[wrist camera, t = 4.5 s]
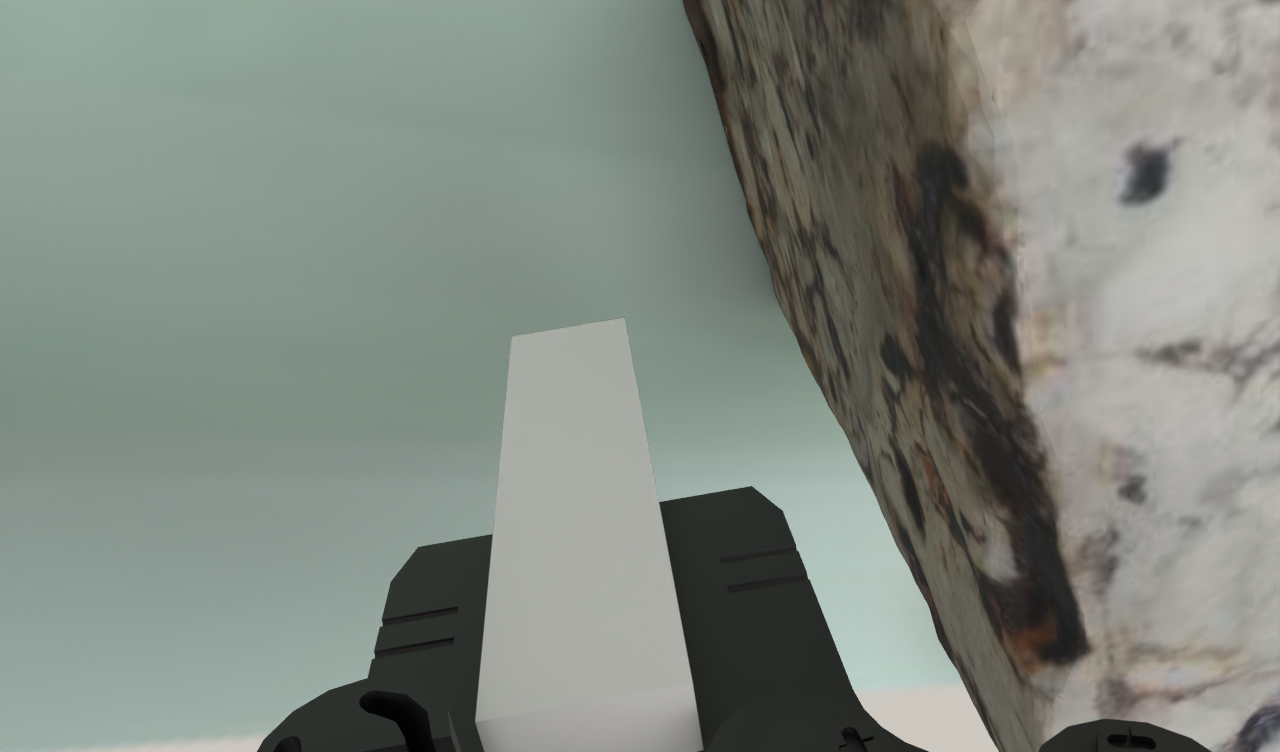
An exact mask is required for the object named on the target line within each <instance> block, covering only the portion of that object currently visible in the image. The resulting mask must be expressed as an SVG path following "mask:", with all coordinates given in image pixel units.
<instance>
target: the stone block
mask: <svg viewBox="0 0 1280 752" xmlns="http://www.w3.org/2000/svg"><path fill="white" fill-rule="evenodd" d="M683 2H684V6H685V11H686V13H687V16H688V19H689V21H690V24H691V27H692V29H693V32H694V34H695V37H696V40H697V42H698V45H699V47H700V50H701V53H702V55H703V58H704V60H705V63H706V66H707V69H708V73H709V76H710V80H711V83H712V87H713V91H714V94H715V98H716V101H717V105H718V108H719V112H720V116H721V119H722V123H723V126H724V130H725V133H726V137H727V140H728V144H729V147H730V151H731V154H732V157H733V161H734V164H735V168H736V171H737V175H738V178H739V181H740V183H741V186H742V189H743V192H744V195H745V198H746V203H747V210H748V214H749V217H750V220H751V222H752V225H753V227H754V230H755V232H756V235H757V237H758V240H759V242H760V245H761V247H762V250H763V252H764V254H765V257H766V259H767V261H768V264H769V266H770V270H771V276H772V281H773V287H774V291H775V294H776V298H777V300H778V303H779V305H780V308H781V310H782V312H783V314H784V316H785V318H786V319H787V321H788V323H789V325H790V327H791V329H792V331H793V332H794V334H795V336H796V338H797V341H798V343H799V346H800V349H801V352H802V354H803V356H804V359H805V361H806V363H807V365H808V367H809V369H810V371H811V373H812V375H813V376H814V378H815V380H816V382H817V384H818V385H819V387H820V389H821V391H822V393H823V395H824V397H825V399H826V401H827V403H828V406H829V407H830V409H831V411H832V412H833V414H834V415H835V417H836V419H837V421H838V422H839V424H840V426H841V427H842V429H843V430H844V432H845V434H846V436H847V438H848V440H849V443H850V445H851V448H852V450H853V452H854V455H855V457H856V459H857V461H858V463H859V465H860V467H861V469H862V471H863V473H864V475H865V477H866V479H867V481H868V482H869V484H870V486H871V488H872V490H873V492H874V494H875V496H876V498H877V501H878V503H879V506H880V509H881V511H882V514H883V516H884V518H885V520H886V522H887V524H888V526H889V529H890V531H891V533H892V536H893V538H894V540H895V543H896V545H897V547H898V549H899V551H900V552H901V554H902V556H903V558H904V559H905V561H906V563H907V564H908V566H909V568H910V570H911V573H912V575H913V577H914V580H915V582H916V584H917V585H918V587H919V589H920V591H921V593H922V594H923V596H924V598H925V600H926V602H927V603H928V606H929V608H930V611H931V615H932V619H933V622H934V626H935V629H936V633H937V636H938V639H939V641H940V643H941V644H942V646H943V648H944V650H945V651H946V653H947V655H948V657H949V659H950V660H951V662H952V663H953V665H954V666H955V667H956V669H957V670H958V672H959V674H960V677H961V679H962V681H963V683H964V685H965V687H966V689H967V691H968V693H969V696H970V698H971V700H972V702H973V704H974V706H975V707H976V709H977V711H978V713H979V715H980V717H981V719H982V721H983V723H984V725H985V727H986V729H987V731H988V733H989V735H990V737H991V739H992V740H993V742H994V744H995V745H996V747H997V749H998V750H999V752H1038V751H1039V749H1040V747H1041V745H1042V744H1044V743H1045V742H1046V741H1048V740H1049V739H1051V738H1052V737H1054V736H1055V735H1056V734H1058V733H1059V732H1061V731H1062V730H1063V729H1065V728H1066V727H1068V726H1072V725H1077V724H1081V723H1086V722H1091V721H1095V720H1100V719H1115V720H1126V721H1137V722H1147V723H1150V724H1153V725H1156V726H1159V727H1162V728H1164V729H1167V730H1170V731H1173V732H1176V733H1178V734H1181V735H1184V736H1187V737H1190V738H1192V739H1194V740H1195V741H1197V742H1198V743H1200V744H1201V745H1203V746H1204V747H1206V748H1207V749H1209V750H1210V751H1212V752H1280V0H683Z"/></svg>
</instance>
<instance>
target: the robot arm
mask: <svg viewBox="0 0 1280 752" xmlns="http://www.w3.org/2000/svg"><path fill="white" fill-rule="evenodd" d="M382 622H383V627H380V629H379V633H378V637H377V642H376V646H375V650H374V652H375V659H372V662H371V666H370V671H369V675H368V679H364V680H360V681H357V682H354V683H351V684H348V685H344V686H341V687H338V688H335V689H332V690H329V691H327V692H325V693H324V694H322V695H320V696H318V697H317V698H315V699H313V700H312V701H310V702H308V703H307V704H305V705H303V706H302V707H300V708H298V709H296V710H295V711H293V712H292V713H291V714H290V715H289V716H288V717H287V718H286V719H285V720H284V721H283V722H282V723H281V724H280V725H279V726H278V727H277V728H276V729H274V730H273V731H272V732H271V733H270V734H269V735H268V736H267V737H266V738H265V739H264V740H263V742H262V744H261V746H260V747H259V749H258V751H257V752H928V751H926V750H923V749H921V748H918V747H916V746H913V745H911V744H908V743H906V742H904V741H902V740H901V739H899V738H898V737H896V736H895V735H893V734H892V733H890V732H889V731H887V730H885V729H884V728H882V727H881V726H880V725H879V724H878V723H877V722H876V721H875V720H874V719H873V718H872V717H871V716H870V715H869V714H868V713H867V712H866V711H865V710H864V708H863V707H862V705H861V703H860V701H859V700H858V698H857V696H856V694H855V693H854V691H853V689H852V686H851V684H850V681H849V679H848V676H847V674H846V671H845V668H844V666H843V663H842V661H841V658H840V656H839V653H838V651H837V648H836V646H835V643H834V640H833V638H832V635H831V633H830V630H829V628H828V625H827V623H826V620H825V618H824V615H823V613H822V610H821V607H820V605H819V602H818V600H817V597H816V595H815V592H814V590H813V587H812V585H811V582H810V580H808V577H807V572H806V569H805V567H804V564H803V562H802V559H801V557H800V554H799V552H798V551H797V549H796V544H795V541H794V539H793V536H792V534H791V531H790V529H789V526H788V524H787V521H786V519H785V516H784V513H783V511H782V510H781V509H779V508H778V507H777V506H776V505H774V504H773V503H772V502H771V501H770V500H768V499H767V498H766V497H765V496H763V495H762V494H761V493H760V492H758V491H757V490H756V489H755V488H753V487H752V486H750V487H744V488H739V489H733V490H727V491H721V492H715V493H710V494H704V495H698V496H692V497H686V498H681V499H675V500H669V501H663V502H659V500H658V494H657V489H656V484H655V478H654V473H653V468H652V462H651V457H650V451H649V446H648V441H647V435H646V430H645V425H644V419H643V414H642V409H641V403H640V398H639V392H638V387H637V382H636V376H635V371H634V366H633V360H632V355H631V350H630V344H629V339H628V334H627V328H626V323H625V317H624V318H618V319H612V320H606V321H601V322H595V323H589V324H583V325H577V326H571V327H565V328H559V329H553V330H548V331H542V332H536V333H530V334H524V335H518V336H512V338H511V348H510V359H509V369H508V380H507V390H506V401H505V412H504V422H503V433H502V443H501V454H500V464H499V475H498V486H497V496H496V507H495V517H494V528H493V534H491V535H485V536H480V537H474V538H468V539H462V540H456V541H451V542H445V543H439V544H433V545H427V546H422V547H418V548H417V549H416V551H415V552H414V553H413V555H412V556H411V557H410V558H409V560H408V561H407V562H406V563H405V565H404V566H403V567H402V569H401V570H400V571H399V572H398V574H397V575H396V576H395V578H394V579H393V580H392V581H391V584H390V588H389V592H388V596H387V600H386V604H385V609H384V613H383V617H382ZM1038 752H1212V751H1210V750H1209V749H1207V748H1206V747H1204V746H1203V745H1201V744H1200V743H1198V742H1197V741H1195V740H1194V739H1192V738H1190V737H1187V736H1184V735H1181V734H1178V733H1176V732H1173V731H1170V730H1167V729H1164V728H1162V727H1159V726H1156V725H1153V724H1150V723H1147V722H1137V721H1126V720H1115V719H1100V720H1095V721H1091V722H1086V723H1081V724H1077V725H1072V726H1068V727H1066V728H1065V729H1063V730H1062V731H1061V732H1059V733H1058V734H1056V735H1055V736H1054V737H1052V738H1051V739H1049V740H1048V741H1046V742H1045V743H1044V744H1042V745H1041V747H1040V749H1039V751H1038Z"/></svg>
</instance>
